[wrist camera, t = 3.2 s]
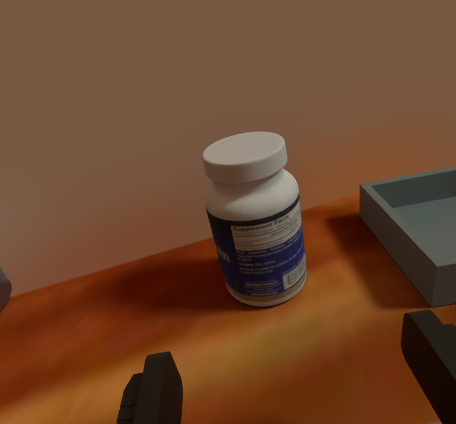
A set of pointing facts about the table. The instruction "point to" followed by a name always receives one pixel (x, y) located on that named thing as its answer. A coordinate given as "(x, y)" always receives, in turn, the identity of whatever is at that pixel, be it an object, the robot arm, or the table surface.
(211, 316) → the table surface
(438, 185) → the tray
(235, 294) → the pill bottle
